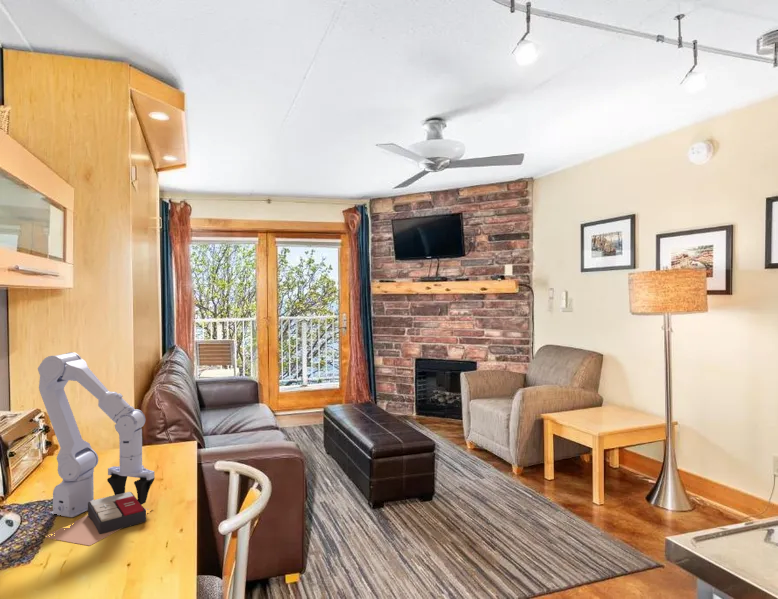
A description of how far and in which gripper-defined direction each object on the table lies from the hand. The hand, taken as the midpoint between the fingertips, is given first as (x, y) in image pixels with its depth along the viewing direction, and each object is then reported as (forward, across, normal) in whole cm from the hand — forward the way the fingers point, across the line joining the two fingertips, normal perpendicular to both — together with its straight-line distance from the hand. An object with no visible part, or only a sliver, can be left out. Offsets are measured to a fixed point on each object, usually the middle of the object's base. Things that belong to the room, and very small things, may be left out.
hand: (131, 502), depth 142 cm
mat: (+2, 0, +10) cm, 10 cm away
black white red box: (+2, -2, +7) cm, 7 cm away
